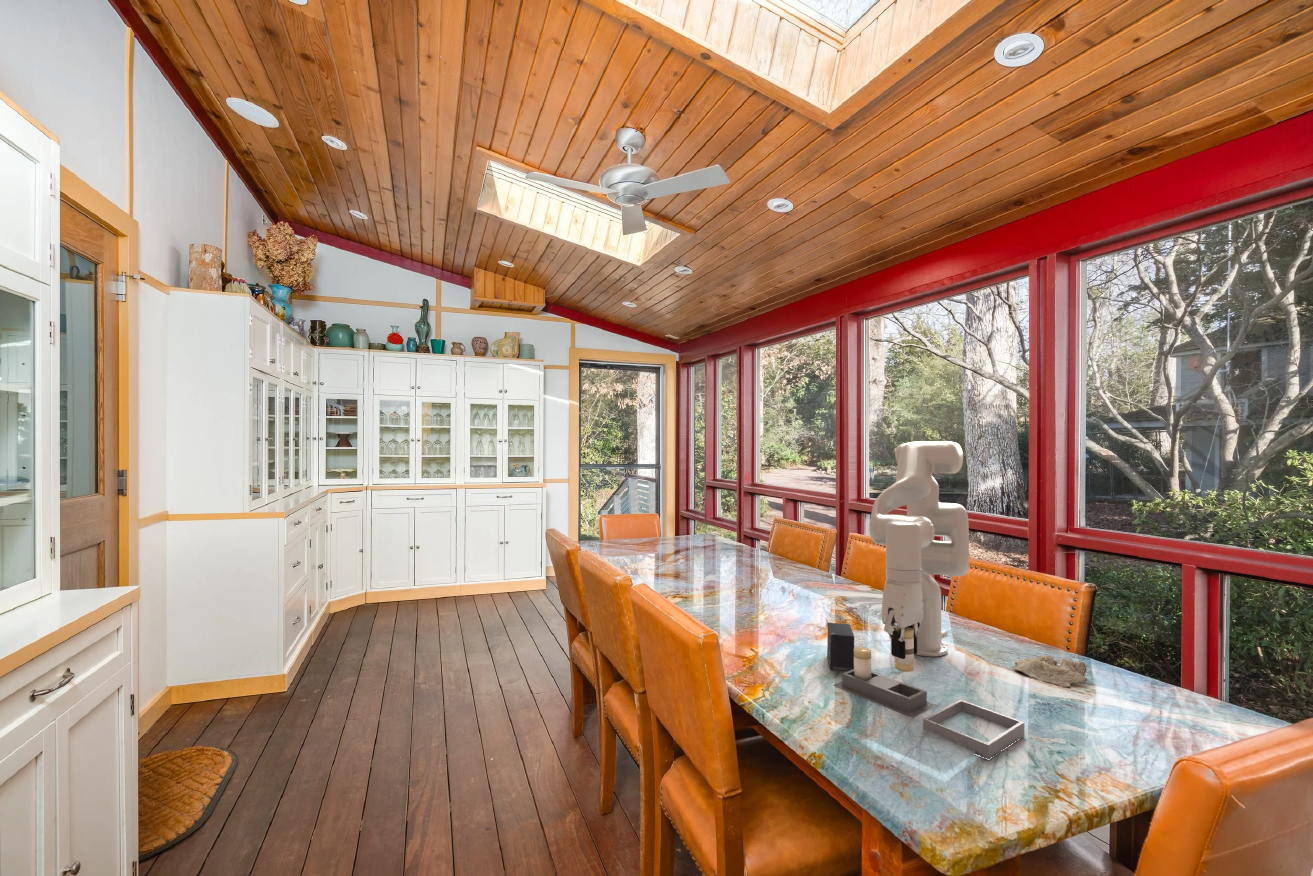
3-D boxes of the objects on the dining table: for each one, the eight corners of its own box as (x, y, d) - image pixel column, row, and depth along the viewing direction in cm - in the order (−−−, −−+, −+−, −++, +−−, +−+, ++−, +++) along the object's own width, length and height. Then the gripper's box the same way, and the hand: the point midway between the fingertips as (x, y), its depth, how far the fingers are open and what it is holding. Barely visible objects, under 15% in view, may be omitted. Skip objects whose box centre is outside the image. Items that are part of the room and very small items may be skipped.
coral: (1008, 657, 167) (1008, 639, 167) (1077, 667, 160) (1077, 648, 160) (1014, 681, 151) (1014, 661, 151) (1091, 693, 144) (1091, 672, 144)
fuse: (860, 682, 148) (860, 646, 148) (874, 687, 145) (874, 650, 145) (850, 686, 146) (850, 649, 146) (864, 691, 142) (864, 654, 142)
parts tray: (960, 712, 133) (960, 699, 133) (1024, 736, 123) (1024, 722, 123) (923, 733, 125) (923, 718, 125) (988, 761, 114) (988, 745, 114)
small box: (855, 676, 154) (855, 635, 154) (829, 674, 155) (829, 634, 155) (850, 661, 165) (850, 623, 164) (826, 659, 166) (826, 621, 166)
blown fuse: (901, 663, 139) (901, 625, 139) (917, 668, 136) (917, 629, 136) (891, 667, 137) (890, 628, 137) (907, 673, 134) (907, 633, 134)
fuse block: (857, 679, 152) (857, 663, 152) (937, 709, 135) (937, 692, 135) (832, 689, 146) (832, 673, 146) (912, 722, 129) (912, 704, 129)
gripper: (909, 566, 144) (909, 641, 144) (867, 577, 134) (867, 658, 135) (939, 572, 138) (939, 650, 138) (897, 584, 128) (898, 669, 129)
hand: (904, 653), depth 137 cm, fingers closed on blown fuse, 4 cm apart
